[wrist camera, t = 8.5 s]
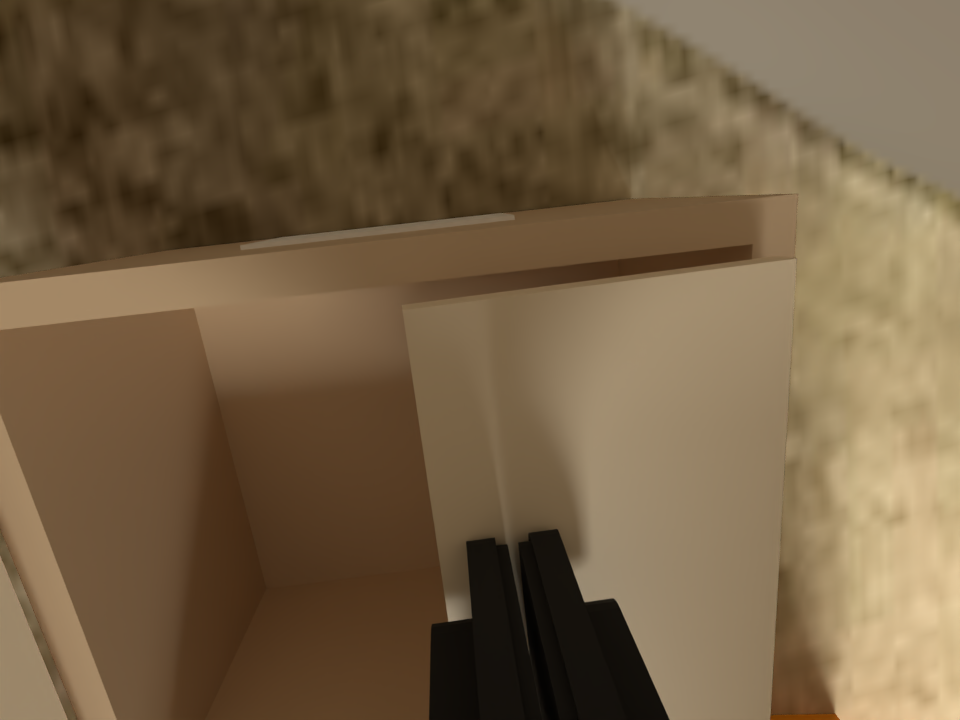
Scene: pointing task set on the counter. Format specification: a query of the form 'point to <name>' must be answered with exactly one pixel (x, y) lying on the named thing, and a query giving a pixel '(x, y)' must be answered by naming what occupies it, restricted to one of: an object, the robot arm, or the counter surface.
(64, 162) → the counter surface
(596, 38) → the counter surface
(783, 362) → the right flap
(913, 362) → the counter surface
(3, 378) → the carton
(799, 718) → the cereal box
